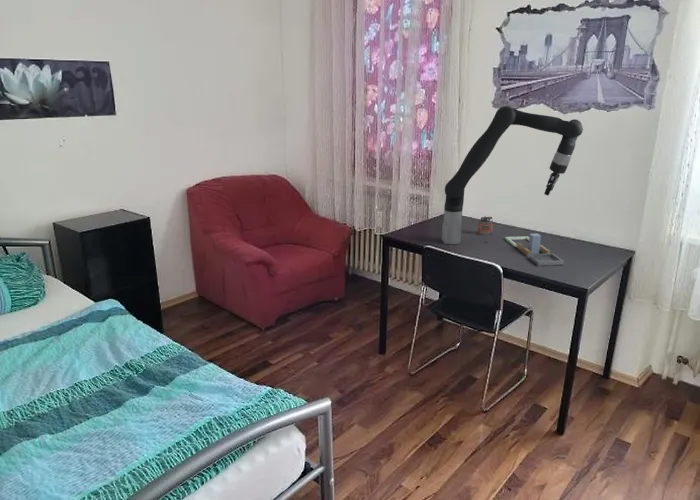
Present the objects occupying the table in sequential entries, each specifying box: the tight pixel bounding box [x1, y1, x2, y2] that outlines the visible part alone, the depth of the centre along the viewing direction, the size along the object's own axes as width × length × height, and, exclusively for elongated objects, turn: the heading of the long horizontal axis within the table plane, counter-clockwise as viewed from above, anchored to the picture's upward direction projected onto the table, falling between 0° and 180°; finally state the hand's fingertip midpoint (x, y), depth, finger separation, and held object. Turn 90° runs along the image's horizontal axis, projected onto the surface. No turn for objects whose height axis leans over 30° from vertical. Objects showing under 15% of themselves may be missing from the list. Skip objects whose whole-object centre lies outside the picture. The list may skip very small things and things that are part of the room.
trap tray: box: [528, 252, 565, 267], centre depth 242 cm, size 12×11×2 cm
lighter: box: [477, 215, 494, 236], centre depth 283 cm, size 8×3×10 cm, turn 92°
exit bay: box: [504, 235, 529, 248], centre depth 270 cm, size 12×13×1 cm
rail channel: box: [516, 242, 551, 257], centre depth 256 cm, size 11×14×2 cm
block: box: [527, 233, 542, 254], centre depth 254 cm, size 4×4×9 cm
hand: (548, 192), depth 254 cm, fingers open, 8 cm apart
